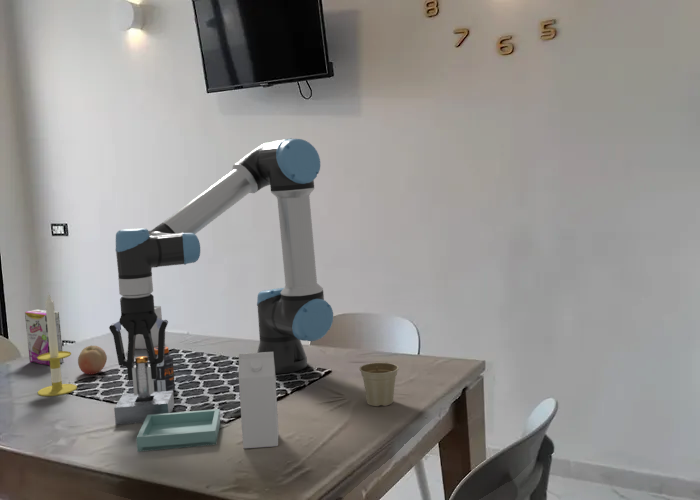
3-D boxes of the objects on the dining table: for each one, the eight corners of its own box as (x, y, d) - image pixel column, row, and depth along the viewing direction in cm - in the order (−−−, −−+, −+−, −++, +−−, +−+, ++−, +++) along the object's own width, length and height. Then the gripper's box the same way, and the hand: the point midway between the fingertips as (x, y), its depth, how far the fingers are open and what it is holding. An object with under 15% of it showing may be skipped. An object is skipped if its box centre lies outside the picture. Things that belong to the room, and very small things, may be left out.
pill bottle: (168, 392, 184) (165, 350, 183) (147, 392, 185) (144, 350, 184) (178, 386, 190) (175, 345, 189) (158, 385, 191) (155, 344, 190)
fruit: (72, 376, 204) (70, 349, 204) (92, 368, 212) (90, 342, 211) (94, 378, 201) (92, 350, 201) (113, 370, 209) (111, 344, 208)
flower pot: (404, 397, 172) (403, 363, 171) (394, 410, 163) (392, 374, 162) (367, 395, 175) (366, 361, 174) (355, 407, 166) (354, 372, 165)
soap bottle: (128, 349, 235) (124, 292, 233) (140, 342, 243) (136, 288, 241) (152, 349, 233) (148, 292, 231) (163, 342, 242) (159, 288, 240)
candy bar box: (28, 362, 223) (23, 311, 221) (42, 358, 227) (38, 308, 225) (50, 366, 217) (45, 314, 215) (64, 362, 221) (59, 311, 219)
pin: (152, 412, 169) (148, 355, 167) (151, 416, 166) (146, 358, 164) (140, 413, 168) (136, 356, 167) (138, 417, 166) (134, 359, 164)
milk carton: (245, 436, 150) (240, 349, 148) (278, 434, 151) (273, 347, 149) (243, 449, 143) (237, 358, 141) (278, 446, 144) (272, 356, 142)
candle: (85, 386, 193) (76, 289, 190) (56, 397, 184) (47, 296, 181) (58, 383, 197) (50, 288, 194) (29, 394, 188) (19, 295, 185)
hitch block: (174, 406, 173) (173, 390, 172) (168, 420, 163) (167, 403, 162) (124, 410, 171) (122, 394, 171) (115, 424, 161) (114, 407, 161)
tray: (220, 421, 160) (219, 409, 160) (216, 444, 146) (215, 430, 146) (148, 427, 158) (147, 414, 158) (137, 451, 145) (136, 437, 144)
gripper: (173, 290, 169) (180, 385, 171) (105, 294, 167) (113, 390, 169) (169, 295, 161) (176, 394, 164) (97, 299, 159) (106, 400, 162)
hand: (144, 392), depth 166 cm, fingers closed on pin, 3 cm apart
